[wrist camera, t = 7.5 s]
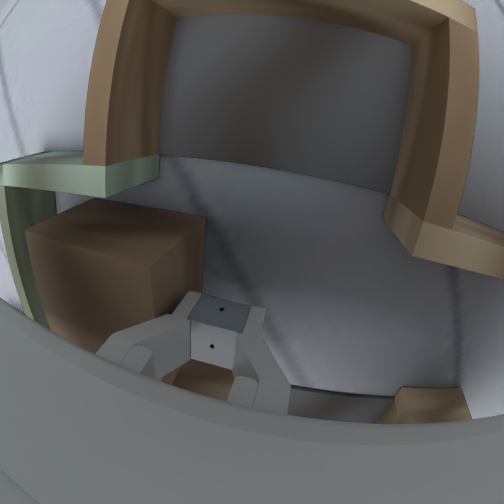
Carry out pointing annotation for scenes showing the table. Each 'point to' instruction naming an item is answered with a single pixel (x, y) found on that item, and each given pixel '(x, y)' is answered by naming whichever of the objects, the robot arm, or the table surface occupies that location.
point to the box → (282, 135)
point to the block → (114, 268)
